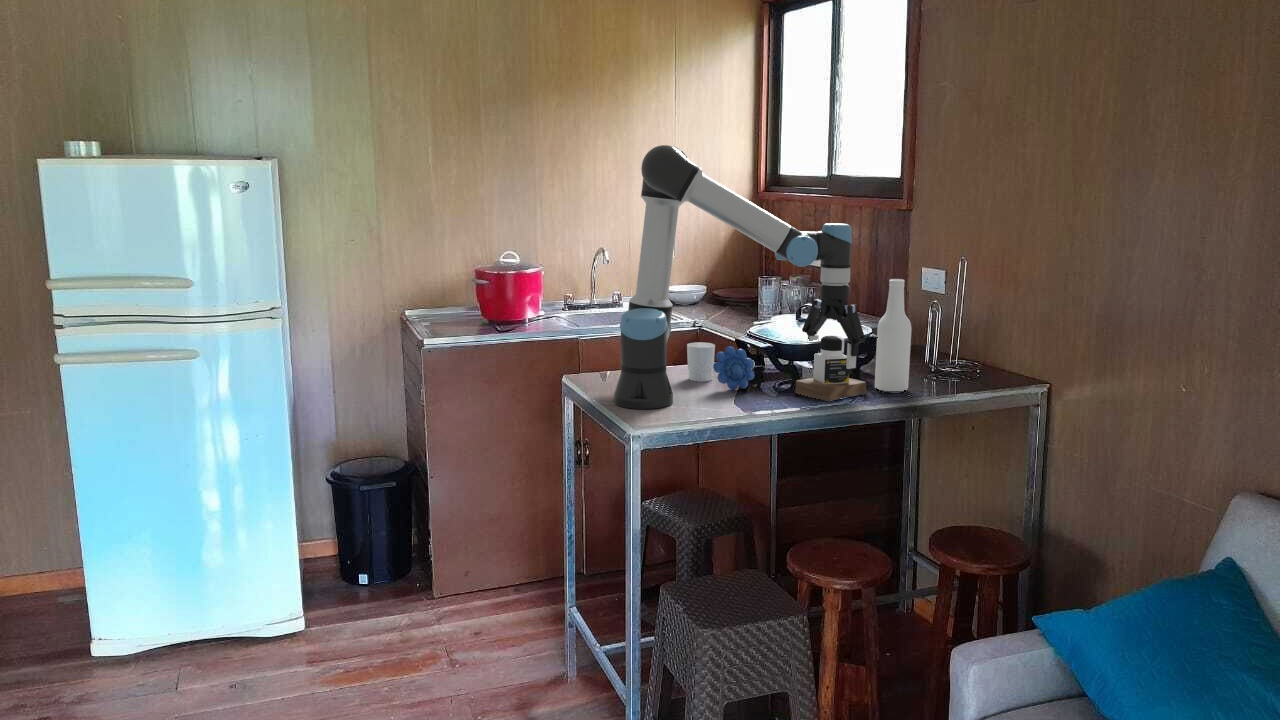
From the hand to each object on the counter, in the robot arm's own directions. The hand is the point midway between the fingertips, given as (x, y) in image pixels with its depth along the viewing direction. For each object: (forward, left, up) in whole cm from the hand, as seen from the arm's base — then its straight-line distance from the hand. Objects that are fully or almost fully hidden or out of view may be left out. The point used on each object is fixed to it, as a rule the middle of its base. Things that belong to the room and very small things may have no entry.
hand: (831, 363), depth 251 cm
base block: (0, 0, -8) cm, 8 cm away
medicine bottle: (0, 0, -5) cm, 5 cm away
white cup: (-17, +34, -8) cm, 39 cm away
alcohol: (+17, -6, -8) cm, 20 cm away
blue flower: (-18, +18, -8) cm, 27 cm away
